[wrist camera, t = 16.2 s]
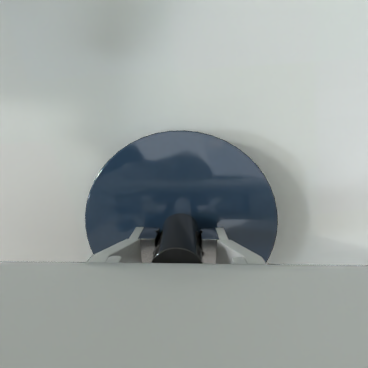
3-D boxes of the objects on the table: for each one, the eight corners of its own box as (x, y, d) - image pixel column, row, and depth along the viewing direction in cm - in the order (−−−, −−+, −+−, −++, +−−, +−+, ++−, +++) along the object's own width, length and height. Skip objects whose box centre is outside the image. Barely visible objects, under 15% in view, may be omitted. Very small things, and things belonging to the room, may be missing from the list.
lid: (99, 292, 15) (54, 371, 10) (86, 128, 12) (10, 117, 7) (258, 299, 15) (295, 383, 10) (283, 135, 12) (356, 129, 7)
